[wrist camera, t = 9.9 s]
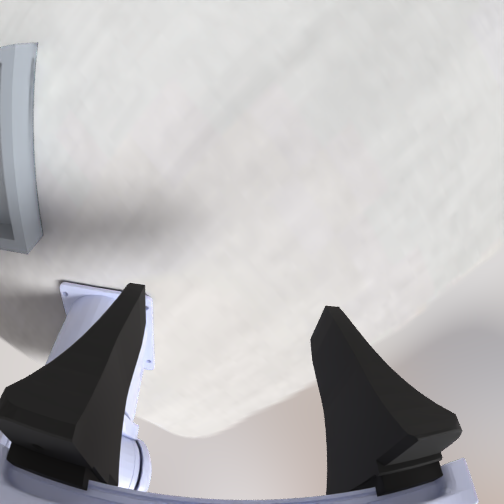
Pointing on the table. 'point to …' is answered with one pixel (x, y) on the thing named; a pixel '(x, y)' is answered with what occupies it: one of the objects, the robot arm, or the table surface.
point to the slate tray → (18, 150)
